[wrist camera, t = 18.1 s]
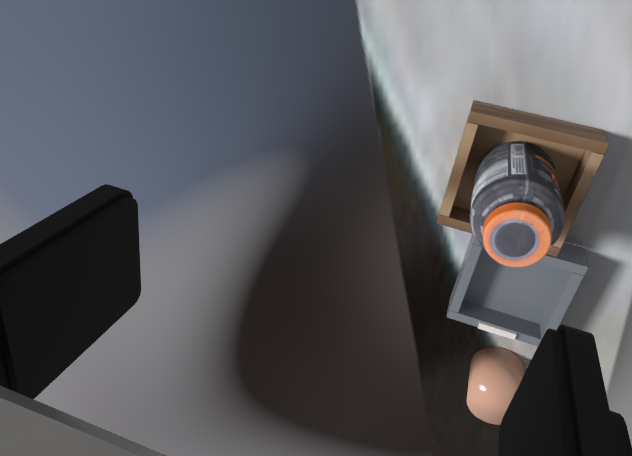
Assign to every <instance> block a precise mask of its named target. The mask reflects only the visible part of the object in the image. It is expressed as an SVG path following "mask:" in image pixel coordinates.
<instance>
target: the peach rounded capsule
mask: <svg viewBox="0 0 632 456" xmlns="http://www.w3.org/2000/svg"><path fill="white" fill-rule="evenodd" d="M523 376H524V365H523V363H522V361H521V359H520V358H519V357H518V356H517V355H516V354H515V353H513V352H512V351H510V350H507V349H505V348H500V347H487V348H484V349H481V350H479V351H478V352H476V353H475V354H474V355H473V357H472V359H471V364H470V374H469V384H468V394H467V404H468V407H469V409H470V411H471V412H472V413H473V414H474V415H475V416H476V417H478V418H479V419H481V420H483V421H485V422H488V423H491V424H497V425H501V422H502V419H503V416H504V414H505V412H506V410H507V408H508V406H509V404H510V402H511V400H512V398H513V396H514V394H515V392H516V390H517V388H518V386H519V384H520V382H521V380H522V378H523Z"/></svg>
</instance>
